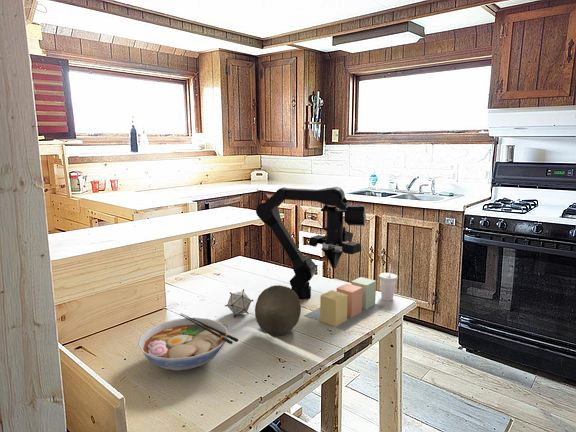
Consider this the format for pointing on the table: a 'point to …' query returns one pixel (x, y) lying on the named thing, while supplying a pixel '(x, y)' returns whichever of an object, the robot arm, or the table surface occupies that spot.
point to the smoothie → (387, 284)
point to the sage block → (366, 291)
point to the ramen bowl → (184, 342)
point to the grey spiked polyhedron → (239, 303)
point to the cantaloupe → (277, 310)
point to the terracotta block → (352, 298)
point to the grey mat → (350, 321)
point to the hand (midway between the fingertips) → (334, 268)
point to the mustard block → (333, 308)
